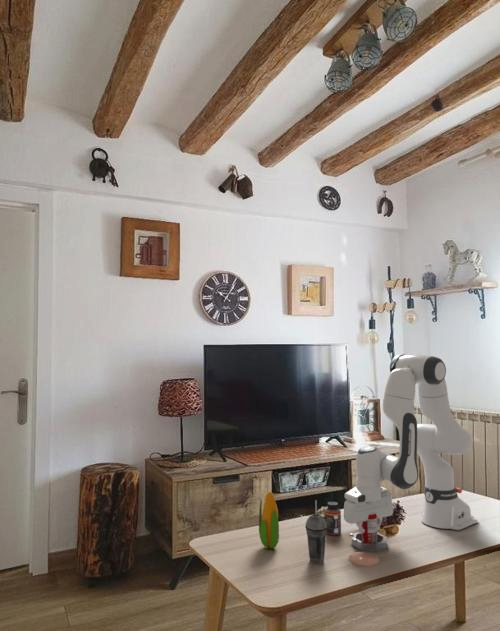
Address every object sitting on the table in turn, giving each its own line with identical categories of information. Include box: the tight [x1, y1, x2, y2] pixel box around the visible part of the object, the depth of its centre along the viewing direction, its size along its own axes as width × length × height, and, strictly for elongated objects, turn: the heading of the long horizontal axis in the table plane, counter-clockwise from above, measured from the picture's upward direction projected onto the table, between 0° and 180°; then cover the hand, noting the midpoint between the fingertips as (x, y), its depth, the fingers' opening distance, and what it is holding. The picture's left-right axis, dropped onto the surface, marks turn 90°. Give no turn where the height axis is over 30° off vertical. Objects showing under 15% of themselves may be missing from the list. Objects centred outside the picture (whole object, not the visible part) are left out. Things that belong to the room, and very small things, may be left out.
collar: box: [349, 531, 388, 553], centre depth 183 cm, size 13×12×3 cm
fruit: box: [317, 505, 328, 519], centre depth 203 cm, size 9×9×8 cm
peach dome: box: [348, 551, 380, 567], centre depth 170 cm, size 10×10×1 cm
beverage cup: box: [305, 499, 327, 566], centre depth 169 cm, size 7×7×20 cm
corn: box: [258, 491, 280, 550], centre depth 180 cm, size 7×8×20 cm
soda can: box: [361, 512, 378, 543], centre depth 183 cm, size 6×6×12 cm
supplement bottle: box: [325, 501, 342, 536], centre depth 194 cm, size 6×6×11 cm
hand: (369, 531), depth 183 cm, fingers closed on soda can, 5 cm apart
